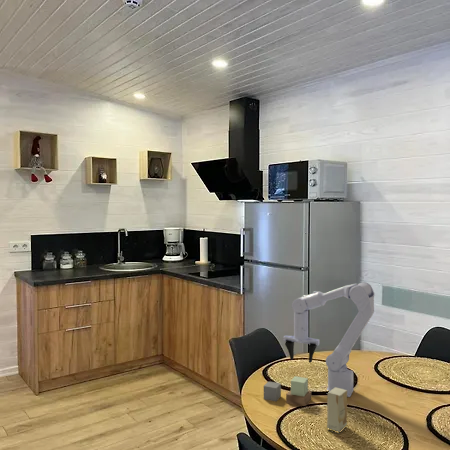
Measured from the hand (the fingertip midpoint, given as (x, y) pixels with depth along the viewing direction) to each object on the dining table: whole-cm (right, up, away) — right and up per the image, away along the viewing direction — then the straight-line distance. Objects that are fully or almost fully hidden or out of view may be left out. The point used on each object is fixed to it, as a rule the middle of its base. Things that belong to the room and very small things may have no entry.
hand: (301, 360), depth 185 cm
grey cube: (-13, -10, -13) cm, 21 cm away
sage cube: (-4, -7, -17) cm, 19 cm away
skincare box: (+5, -11, -38) cm, 39 cm away
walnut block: (-4, -10, -17) cm, 20 cm away
